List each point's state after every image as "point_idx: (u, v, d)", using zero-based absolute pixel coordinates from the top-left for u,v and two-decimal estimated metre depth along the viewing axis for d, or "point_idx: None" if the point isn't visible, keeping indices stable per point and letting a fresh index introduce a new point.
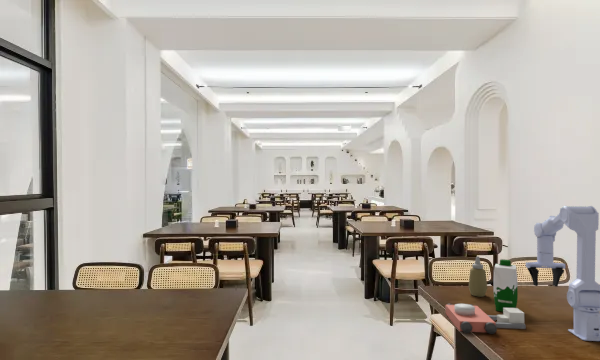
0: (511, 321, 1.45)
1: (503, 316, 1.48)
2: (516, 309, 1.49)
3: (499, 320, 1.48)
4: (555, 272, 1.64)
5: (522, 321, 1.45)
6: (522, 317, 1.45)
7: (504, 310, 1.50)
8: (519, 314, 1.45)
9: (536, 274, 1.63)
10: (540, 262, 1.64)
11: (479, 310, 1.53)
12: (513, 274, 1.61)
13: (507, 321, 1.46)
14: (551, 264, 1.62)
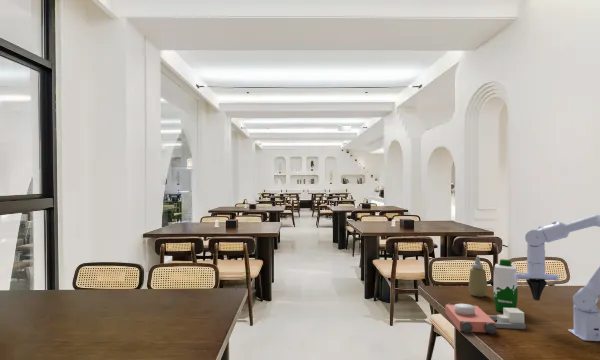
0: (511, 321, 1.45)
1: (503, 316, 1.48)
2: (516, 309, 1.49)
3: (499, 320, 1.48)
4: None
5: (522, 321, 1.45)
6: (522, 317, 1.45)
7: (504, 310, 1.50)
8: (519, 314, 1.45)
9: (536, 287, 1.45)
10: (530, 273, 1.46)
11: (479, 310, 1.53)
12: (513, 274, 1.61)
13: (507, 321, 1.46)
14: (542, 276, 1.45)
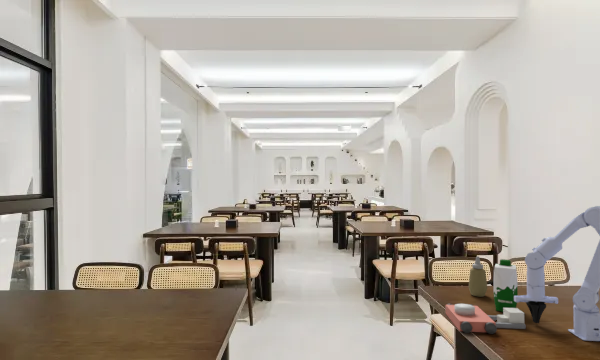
0: (511, 321, 1.45)
1: (503, 316, 1.48)
2: (516, 309, 1.49)
3: (499, 320, 1.48)
4: None
5: (522, 321, 1.45)
6: (522, 317, 1.45)
7: (504, 310, 1.50)
8: (519, 314, 1.45)
9: (536, 310, 1.45)
10: (530, 296, 1.46)
11: (479, 310, 1.53)
12: (513, 274, 1.61)
13: (507, 321, 1.46)
14: (542, 299, 1.44)
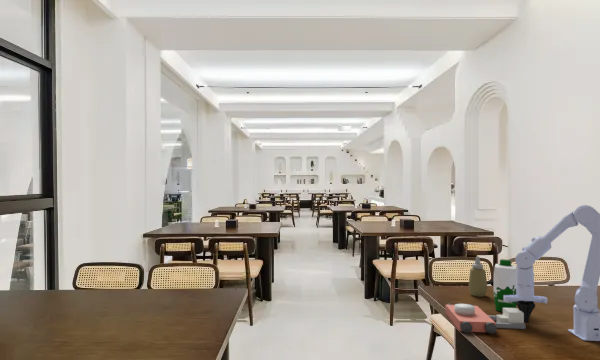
0: (510, 321, 1.45)
1: (502, 316, 1.48)
2: (515, 309, 1.49)
3: (499, 320, 1.48)
4: None
5: (521, 321, 1.45)
6: (521, 317, 1.45)
7: (503, 310, 1.50)
8: (518, 314, 1.45)
9: (525, 309, 1.46)
10: (519, 296, 1.47)
11: (479, 310, 1.53)
12: (513, 274, 1.61)
13: (506, 321, 1.46)
14: (531, 298, 1.45)
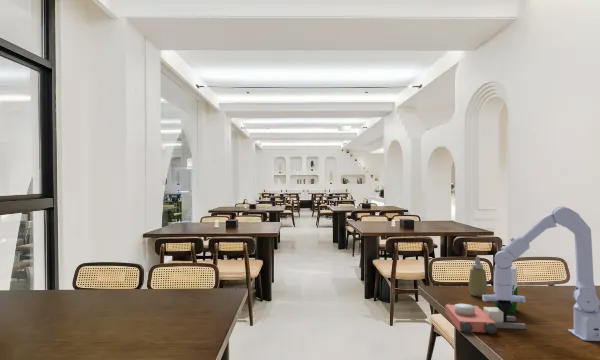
0: None
1: None
2: (496, 308, 1.50)
3: None
4: None
5: (501, 320, 1.46)
6: (501, 316, 1.46)
7: (484, 309, 1.51)
8: (498, 313, 1.46)
9: (504, 309, 1.46)
10: (497, 295, 1.47)
11: (479, 310, 1.53)
12: (513, 274, 1.61)
13: None
14: (509, 298, 1.46)
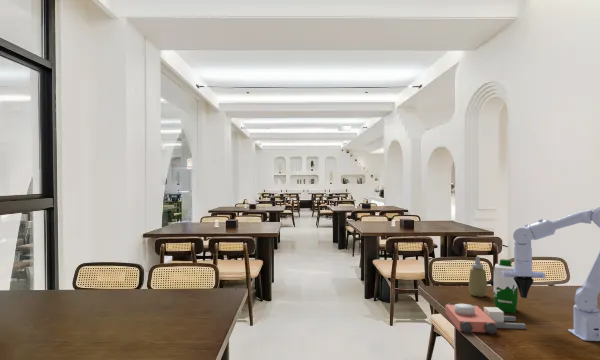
0: None
1: None
2: (496, 308, 1.50)
3: None
4: None
5: (502, 320, 1.46)
6: (502, 316, 1.46)
7: (484, 309, 1.51)
8: (499, 313, 1.46)
9: (523, 285, 1.46)
10: (517, 271, 1.47)
11: (479, 310, 1.53)
12: None
13: None
14: (529, 273, 1.45)
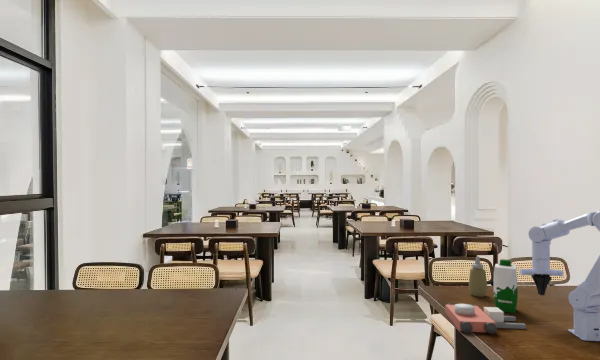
0: None
1: None
2: (496, 308, 1.50)
3: None
4: None
5: (502, 320, 1.46)
6: (502, 316, 1.46)
7: (484, 309, 1.51)
8: (499, 313, 1.46)
9: (541, 282, 1.50)
10: (535, 269, 1.51)
11: (479, 310, 1.53)
12: (513, 274, 1.61)
13: None
14: (547, 271, 1.49)
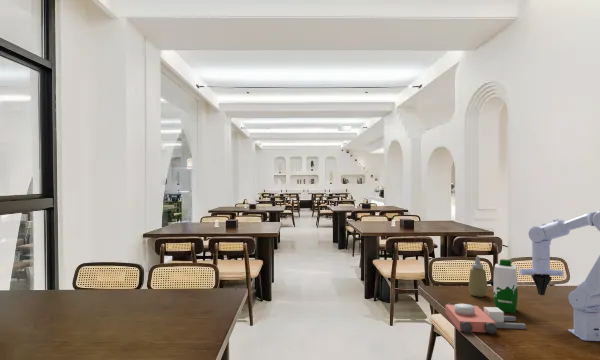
0: None
1: None
2: (496, 308, 1.50)
3: None
4: None
5: (502, 320, 1.46)
6: (502, 316, 1.46)
7: (484, 309, 1.51)
8: (499, 313, 1.46)
9: (541, 282, 1.50)
10: (535, 269, 1.51)
11: (479, 310, 1.53)
12: (513, 274, 1.61)
13: None
14: (547, 271, 1.49)
